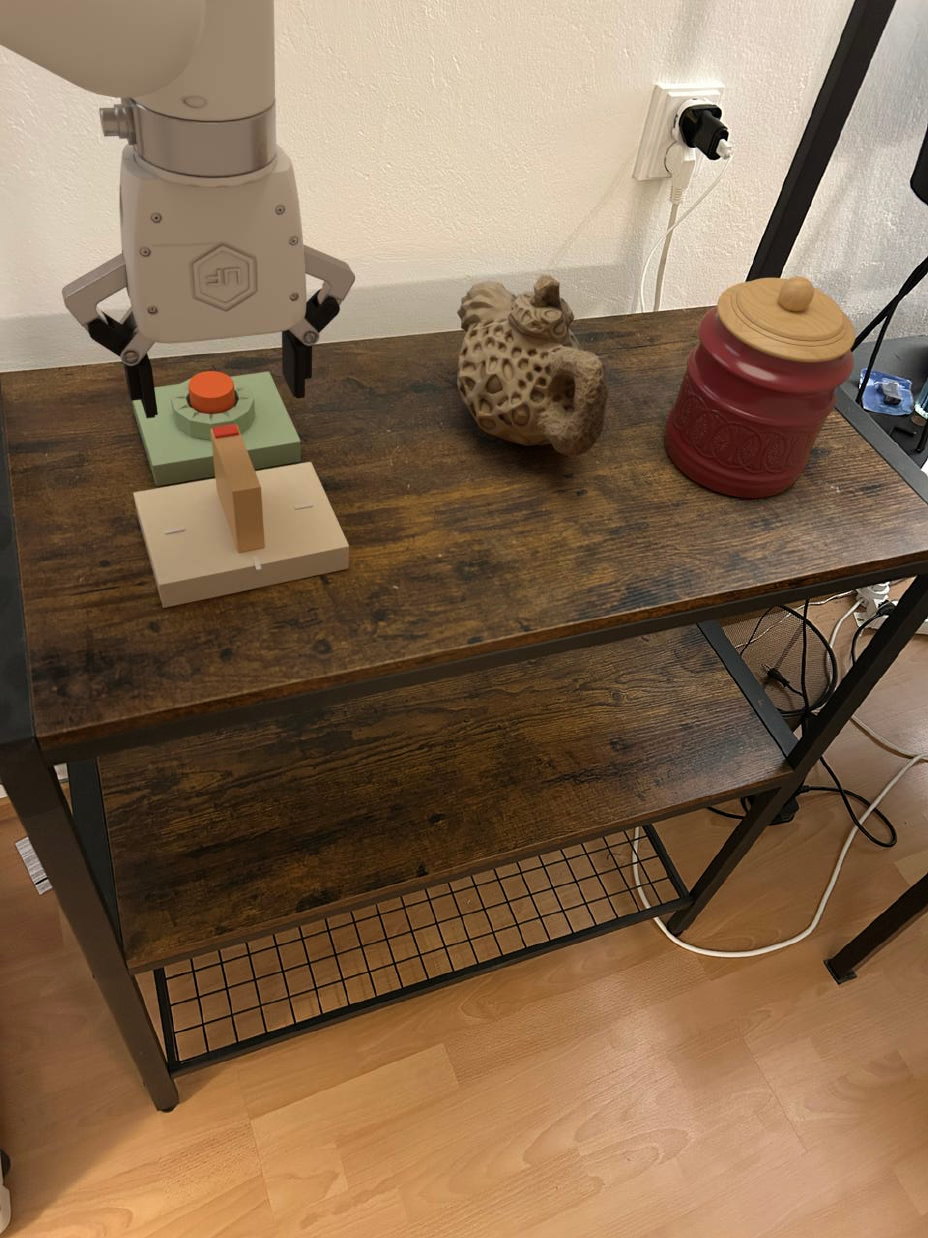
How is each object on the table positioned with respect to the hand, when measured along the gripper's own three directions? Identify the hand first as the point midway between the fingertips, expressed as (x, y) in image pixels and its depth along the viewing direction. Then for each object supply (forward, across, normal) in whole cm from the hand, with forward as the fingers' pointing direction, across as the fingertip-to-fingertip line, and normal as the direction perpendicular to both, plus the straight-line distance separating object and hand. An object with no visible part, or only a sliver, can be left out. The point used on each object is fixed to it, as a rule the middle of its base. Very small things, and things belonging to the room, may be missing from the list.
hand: (222, 395), depth 64 cm
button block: (+14, +2, +13) cm, 19 cm away
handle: (+11, +1, 0) cm, 11 cm away
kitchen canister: (+13, +46, -1) cm, 48 cm away
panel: (+14, +1, 0) cm, 14 cm away
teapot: (+14, +28, +7) cm, 32 cm away
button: (+10, +2, +13) cm, 17 cm away
